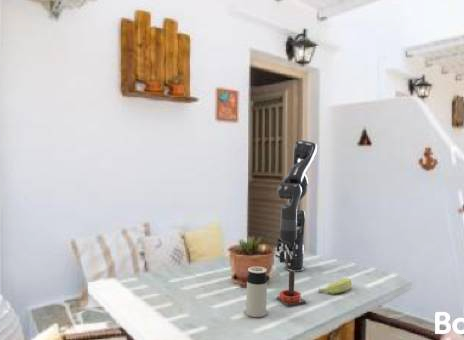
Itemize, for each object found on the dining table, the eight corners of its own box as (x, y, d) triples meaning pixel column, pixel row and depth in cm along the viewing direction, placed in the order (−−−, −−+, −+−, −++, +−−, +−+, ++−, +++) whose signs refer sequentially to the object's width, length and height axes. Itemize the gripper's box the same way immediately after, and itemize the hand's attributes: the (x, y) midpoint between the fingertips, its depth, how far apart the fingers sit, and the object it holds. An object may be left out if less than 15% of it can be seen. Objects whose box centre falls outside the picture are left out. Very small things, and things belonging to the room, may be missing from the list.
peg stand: (276, 299, 170) (277, 269, 169) (293, 296, 174) (294, 267, 174) (287, 307, 162) (288, 275, 161) (305, 303, 166) (306, 273, 166)
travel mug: (251, 319, 149) (252, 273, 148) (243, 311, 156) (244, 267, 156) (269, 316, 152) (270, 271, 151) (260, 308, 160) (262, 265, 159)
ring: (276, 296, 171) (276, 291, 171) (292, 293, 175) (292, 288, 175) (287, 303, 163) (287, 298, 163) (304, 300, 167) (304, 295, 167)
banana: (359, 276, 182) (323, 285, 175) (362, 288, 182) (326, 298, 174) (342, 274, 195) (308, 283, 187) (345, 286, 194) (311, 295, 187)
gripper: (305, 230, 165) (303, 268, 166) (286, 224, 178) (285, 259, 179) (290, 232, 162) (289, 270, 163) (272, 226, 175) (271, 261, 175)
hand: (287, 264), depth 171 cm, fingers open, 8 cm apart
